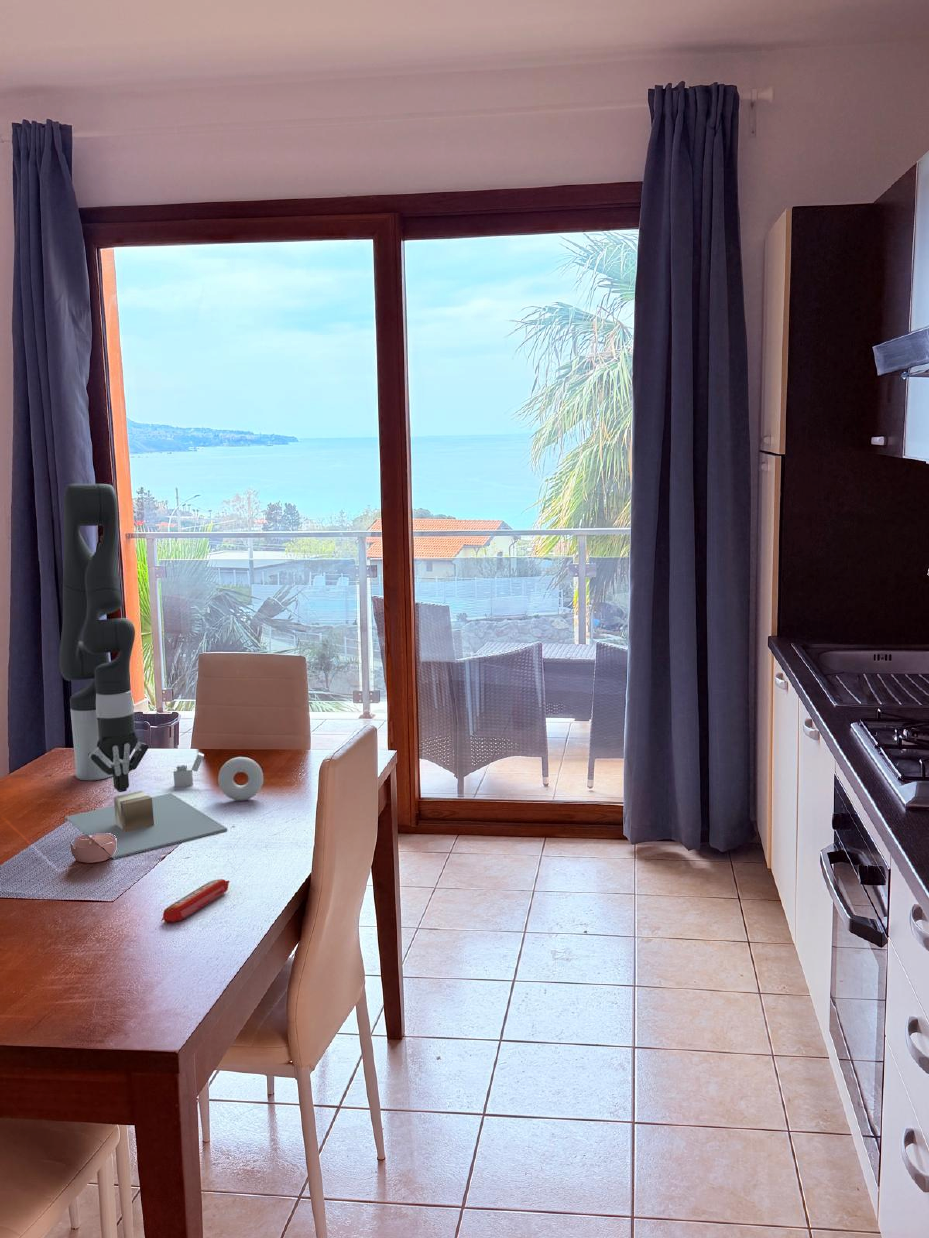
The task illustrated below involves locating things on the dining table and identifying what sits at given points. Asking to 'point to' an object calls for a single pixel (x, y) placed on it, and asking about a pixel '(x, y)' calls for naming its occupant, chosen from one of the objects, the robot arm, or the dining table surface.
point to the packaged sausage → (195, 900)
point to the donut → (236, 790)
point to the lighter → (186, 773)
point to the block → (133, 811)
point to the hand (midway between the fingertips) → (121, 790)
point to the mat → (169, 826)
